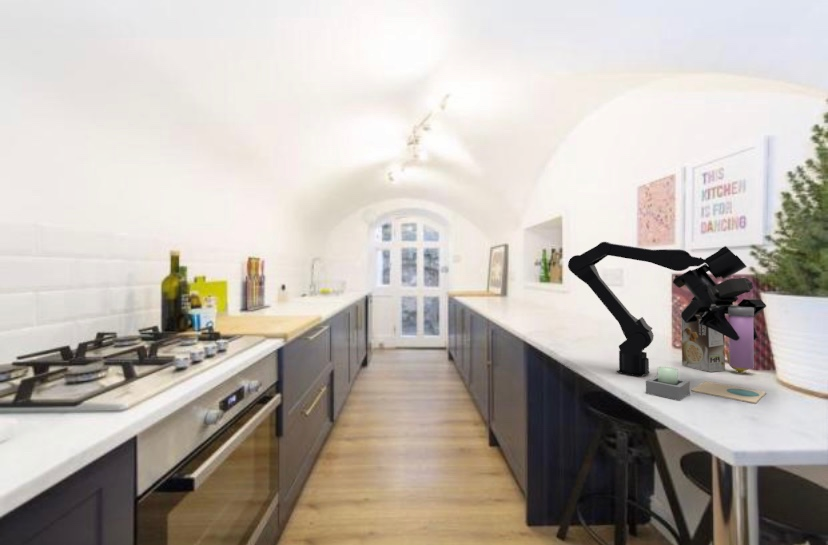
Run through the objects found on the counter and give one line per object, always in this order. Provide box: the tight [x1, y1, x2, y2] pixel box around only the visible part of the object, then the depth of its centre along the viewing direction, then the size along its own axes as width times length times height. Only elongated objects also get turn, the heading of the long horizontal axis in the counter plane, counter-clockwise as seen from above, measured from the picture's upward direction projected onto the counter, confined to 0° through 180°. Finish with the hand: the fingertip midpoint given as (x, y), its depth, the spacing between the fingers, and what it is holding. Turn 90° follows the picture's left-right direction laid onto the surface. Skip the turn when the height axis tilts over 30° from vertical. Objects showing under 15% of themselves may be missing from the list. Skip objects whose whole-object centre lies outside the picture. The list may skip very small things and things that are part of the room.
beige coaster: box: [690, 381, 767, 404], centre depth 94 cm, size 12×11×1 cm
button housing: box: [645, 375, 691, 401], centre depth 93 cm, size 7×7×3 cm
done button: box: [657, 366, 679, 385], centre depth 93 cm, size 4×4×4 cm
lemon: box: [726, 351, 749, 374], centre depth 111 cm, size 6×6×8 cm
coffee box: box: [680, 315, 726, 373], centre depth 117 cm, size 9×6×16 cm
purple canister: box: [727, 307, 755, 370], centre depth 90 cm, size 5×5×14 cm
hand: (746, 339), depth 89 cm, fingers closed on purple canister, 4 cm apart
